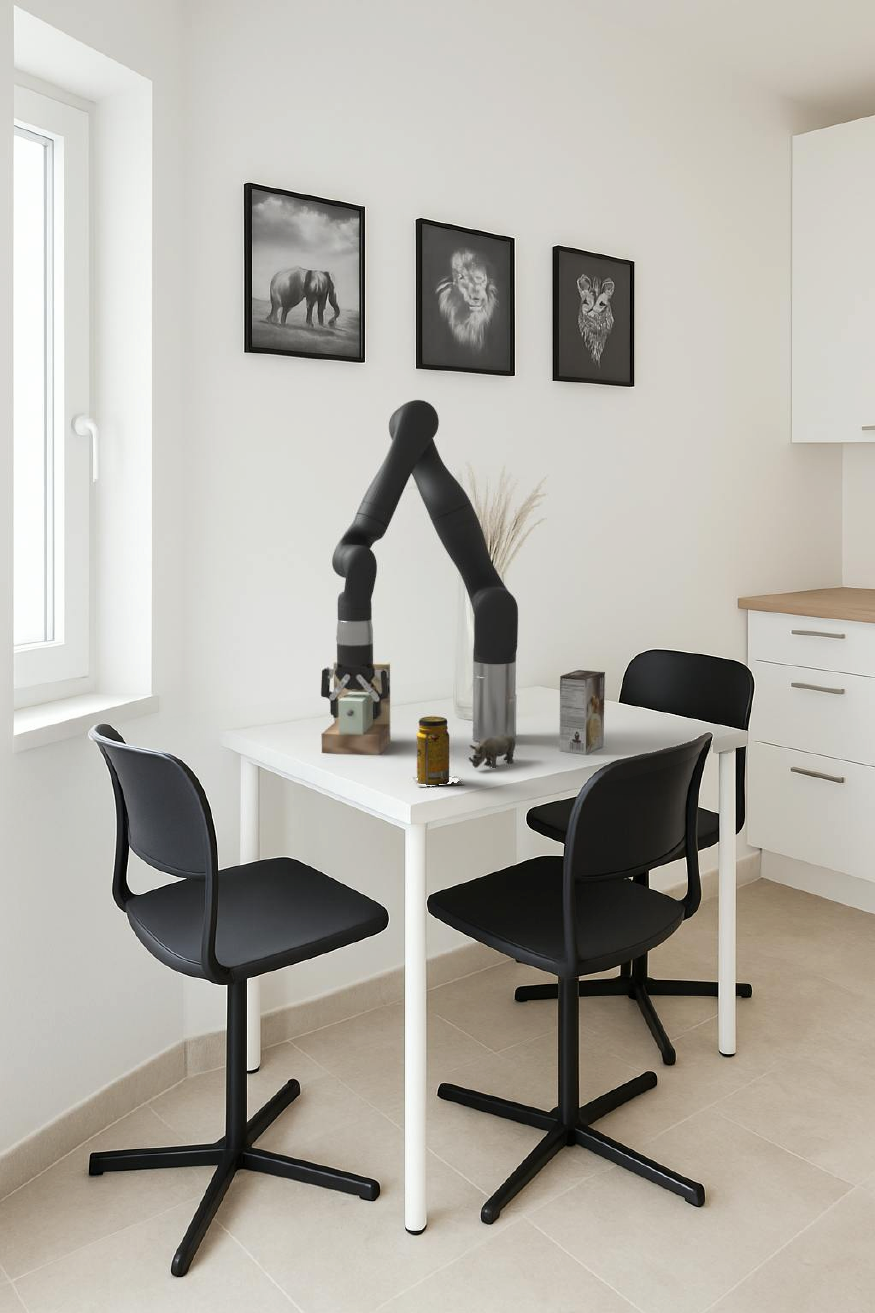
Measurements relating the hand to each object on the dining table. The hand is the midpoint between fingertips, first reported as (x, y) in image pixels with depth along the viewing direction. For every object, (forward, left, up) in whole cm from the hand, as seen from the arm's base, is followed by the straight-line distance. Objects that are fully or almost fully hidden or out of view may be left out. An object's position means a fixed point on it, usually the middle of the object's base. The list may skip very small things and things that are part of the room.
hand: (355, 717), depth 224 cm
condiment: (-21, +24, -7) cm, 33 cm away
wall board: (0, -6, -6) cm, 9 cm away
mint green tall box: (0, 0, -2) cm, 2 cm away
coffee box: (-47, -6, -7) cm, 48 cm away
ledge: (0, 0, -6) cm, 6 cm away
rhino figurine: (-30, +11, -7) cm, 32 cm away
